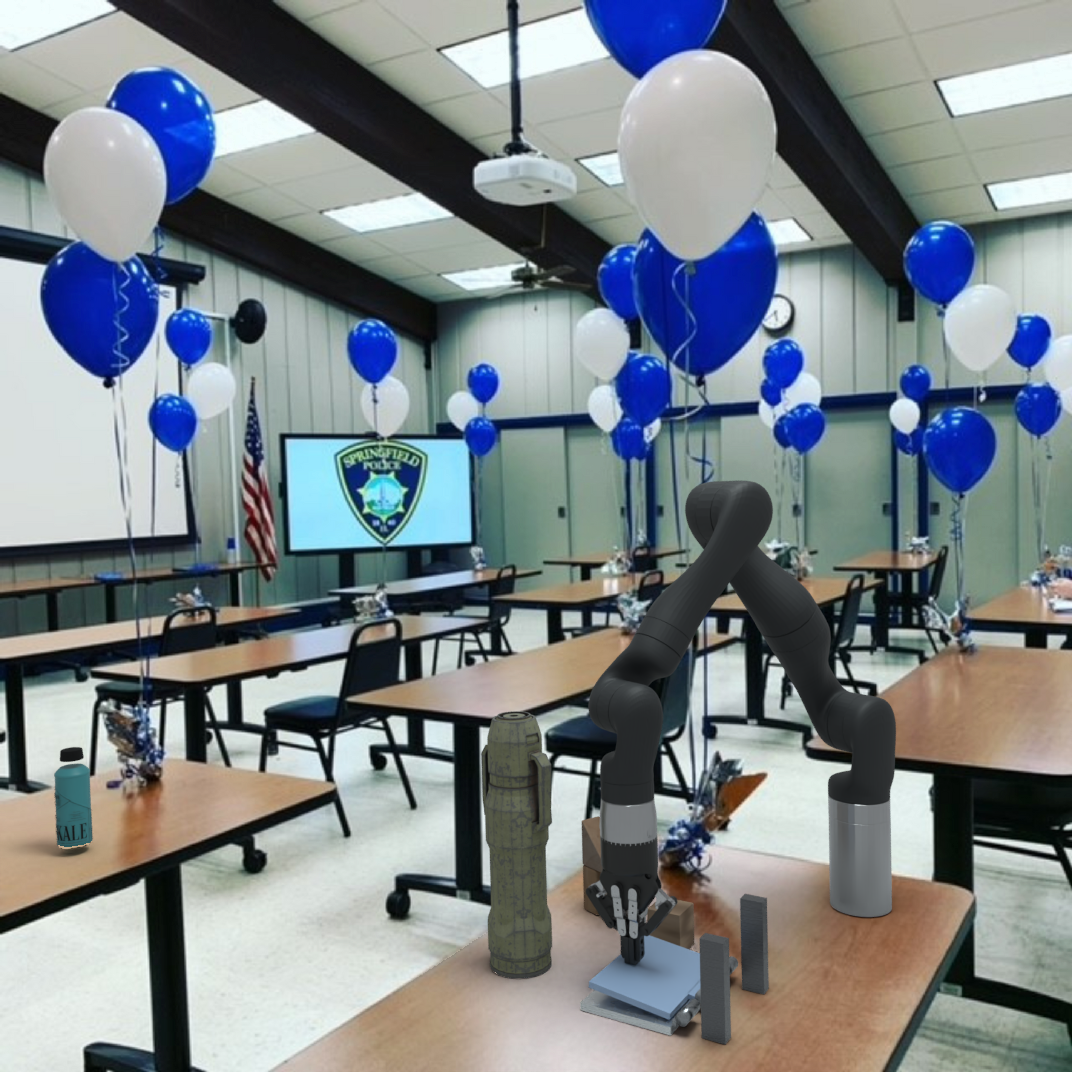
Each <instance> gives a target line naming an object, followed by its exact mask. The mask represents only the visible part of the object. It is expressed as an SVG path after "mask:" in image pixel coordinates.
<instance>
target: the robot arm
mask: <svg viewBox="0 0 1072 1072" xmlns="http://www.w3.org/2000/svg"><path fill="white" fill-rule="evenodd" d="M684 513H685V519H686V522H687V526H688V528H689V531H690V532H691V534H692V536H693V537H694V539H695V540H696V541H697V543H698V544H699V545H700V547H701V548H702V549H703V550H702V552H701V553H700V554H699V556H698V557H697V558H696V559H695V560H694V561H693V562H692V564H691V565H690V566H689V567H688V568H687V569H686V570H685V571H683V572H682V574H681V575H679V576H678V578H676V579H675V580H674V581H673V582H672V583H671V584H669V586H668V587H666V589H664V591H662V592H661V593H660V594H659V596H658V597H656V599H655V600H654V602H653V603H652V605H650V607H649V608H648V610H647V612H646V614H645V615H644V617H643V619H642V621H641V622H640V624H639V627H638V628H637V629H636V632H635V633H634V635H633V637H632V639H631V641H630V642H629V644H628V645H627V646H626V647H625V649H624V650H623V651H621V653H619V655H618V656H617V657H616V658H615V659H614V660H613V661H612V662H611V663H610V665H609V666H608V667H607V668H606V669H605V670H604V671H603V673H602V674H601V675H600V677H598V678H597V680H596V682H595V684H594V685H593V687H592V689H591V691H590V696H589V699H588V715H589V718H590V719H591V721H592V722H593V724H594V725H596V726H597V727H598V728H600V729H601V730H604V731H607V732H610V733H613V734H616V743H615V744H616V745H615V750H613V751H611V752H608V753H605V755H604V756H603V757H602V759H601V761H600V769H599V774H600V776H599V777H600V780H599V781H600V809H599V817H600V824H599V828H600V844H601V865H602V868H603V869H602V872H601V874H600V881H598V882H595V883H594V884H592V885H590V886H589V887H588V888H587V889H586V895H587V896H588V898H589V899H590V901H591V902H592V904H593V905H594V907H595V909H596V910H597V912H598V913H599V915H598V916H600V918H601V919H602V922H603V923H604V925H605V926H606V927H607V929H611V930H612V929H614V930H616V931H617V933H618V935H619V937H620V938H619V941H620V942H619V943H620V954H621V956H622V958H624V962H625V963H627V964H631V965H637V964H638V963H639V962H640V960H641V959H642V958H643V957H644V955H645V950H644V949H645V948H644V936H649V935H650V934H651V933H652V932H653V931H654V930H656V929H657V928H658V926H659V925H660V924H661V923H662V921H663V920H664V919H665V918H666V917H667V915H668V914H669V913H670V912H671V910H672V909H673V908H674V907H675V906H676V904H677V902H678V901H677V900H678V899H677V897H676V896H674V895H671V896H669V895H668V894H667V893H666V892H665V891H664V890H663V889H662V886H663V885H662V884H663V883H662V881H661V879H660V877H659V848H658V847H659V843H658V817H657V809H656V803H655V781H654V780H655V779H654V777H655V776H654V764H655V761H656V758H657V755H658V749H659V745H660V739H661V736H662V735H661V734H662V730H663V723H664V713H663V706H662V702H661V699H660V698H659V695H658V694H657V692H656V691H655V690H654V689H653V688H652V687H650V685H651V684H652V682H654V681H656V680H659V679H663V678H668V677H670V676H671V675H672V674H674V673H675V671H676V670H677V668H678V667H679V665H680V663H681V661H682V659H683V657H684V656H685V654H686V652H687V650H688V648H689V646H690V644H691V642H692V640H693V638H694V636H695V635H696V633H697V631H698V629H699V627H700V626H701V625H702V622H703V621H704V620H705V617H706V616H707V614H708V613H709V611H710V610H711V608H712V607H713V605H714V604H715V602H716V601H717V600H718V599H719V597H720V595H722V593H723V592H724V591H725V589H726V588H727V587H728V585H729V584H730V586H731V587H732V589H733V591H734V592H735V594H736V596H737V597H738V599H739V600H740V602H741V603H742V605H743V607H744V608H745V609H746V611H747V612H748V614H749V616H750V617H751V619H752V620H753V622H754V623H755V626H756V628H757V629H758V631H759V632H760V635H762V637H763V638H764V641H765V642H766V644H767V646H769V649H770V650H771V652H772V653H773V654H774V655H775V657H776V658H777V660H778V662H779V664H780V665H781V666H782V669H783V670H784V672H785V674H786V675H787V677H788V678H789V680H790V682H791V684H792V685H793V687H794V688H795V691H796V693H797V694H798V696H799V698H800V700H801V702H802V704H803V706H804V709H805V711H806V713H807V715H808V717H809V720H810V722H811V724H812V726H813V729H814V730H815V732H816V733H817V736H819V738H820V740H822V742H823V743H824V744H826V745H827V746H829V747H831V748H833V749H836V750H839V751H843V752H846V753H850V754H851V756H852V757H851V767H850V770H844V771H839V772H836V773H833V774H832V775H831V776H829V778H828V780H827V801H828V803H827V804H828V805H827V809H828V813H827V814H828V849H829V850H828V857H829V858H828V859H829V905H830V906H831V907H832V908H833V909H834V910H836V911H838V912H840V913H843V914H844V915H845V914H846V915H849V916H854V917H862V918H873V917H874V918H875V917H882V916H885V915H888V914H889V913H890V912H891V911H892V910H893V899H892V898H893V896H892V895H893V893H892V892H893V891H892V890H893V888H892V885H893V884H892V880H893V878H892V877H893V876H892V874H893V873H892V871H893V869H892V827H891V826H892V820H891V818H892V817H891V816H892V815H891V789H892V785H893V782H894V778H895V771H896V770H895V767H896V766H895V765H896V745H897V744H896V742H897V741H896V740H897V727H896V726H897V723H896V717H895V712H894V710H893V708H892V705H891V704H890V703H889V702H888V701H887V700H886V699H884V698H882V697H878V696H873V695H868V694H862V693H858V692H857V693H856V692H852V691H849V690H847V689H846V688H844V686H842V684H841V683H840V682H839V680H838V679H837V677H836V676H835V674H834V672H833V670H832V669H831V667H830V663H829V657H830V652H831V651H830V650H831V639H832V638H831V637H832V636H831V630H830V626H829V623H828V622H827V619H826V617H825V615H824V614H823V612H822V610H821V609H820V607H819V605H818V603H817V602H816V600H815V599H814V597H813V596H812V594H811V593H810V592H809V590H808V589H807V588H806V587H805V586H804V585H803V584H802V583H801V582H800V580H798V579H797V578H795V577H794V576H793V575H792V574H791V573H789V572H788V571H786V569H784V568H783V567H782V566H780V565H779V564H778V563H777V562H775V561H774V560H773V559H771V557H769V556H768V555H767V554H766V553H765V552H764V551H763V549H761V548H760V546H759V545H760V543H761V542H762V541H763V539H764V537H765V536H766V534H767V532H768V531H769V528H770V526H771V524H772V521H773V514H774V508H773V502H772V498H771V496H770V493H769V492H768V491H767V489H766V488H765V487H764V486H762V484H760V483H757V482H755V481H751V480H721V481H720V480H717V481H714V480H713V481H708V482H703V483H700V484H698V485H696V486H695V487H694V488H692V489H691V491H689V493H688V495H687V497H686V500H685V507H684ZM655 899H656V900H655ZM654 900H655V902H656V903H655V902H654V903H655V908H656V909H657V911H656V912H655V913H654V914H653V916H652V917H651V918H650V919H649V920H648V922H646V921H647V913H648V908H649V907H650V906H651V905H652V903H653V901H654Z"/></svg>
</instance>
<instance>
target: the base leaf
mask: <svg viewBox="0 0 1072 1072" xmlns="http://www.w3.org/2000/svg"><path fill="white" fill-rule="evenodd" d="M739 907H740V908H739V912H740V913H739V915H740V918H739V919H740V955H741V956H740V957H741V958H740V961H741V968H740V969H741V990H744V991H748V992H752V993H756V994H760V995H765V994H766V993H767V992H768V990H769V989H770V987H769V984H770V983H769V981H770V980H769V979H770V977H769V932H768V929H769V928H768V897H765V896H759V895H753V894H749V893H748V894H747V893H744V894H743V895H742V896H741V897H740V898H739ZM698 940H699V942H698V943H699V953H700V988H701V1004H700V1003H699V1001H698V1000H696V999H688V1000H687V1001H686V1002H685V1003H684V1005H683V1006H682V1007H681V1008H680V1009H679V1010H678V1011H677V1012H676V1013H675V1014H674V1015H673V1017H672V1018H671V1019H670V1020H668V1019H666V1018H663V1017H661V1016H658V1015H656V1014H653V1013H651V1012H648V1011H646V1010H643V1009H641V1008H638V1007H636V1006H633V1005H631V1004H628V1003H626V1002H623V1001H621V1000H618V999H616V998H613V997H611V996H609V995H606V994H604V993H601V992H599V991H596V990H594V989H593V991H591V992H590V993H589V994H588V995H587V996H586V997H584V999H582V1000H581V1001H580V1002H579V1005H580V1007H579V1008H580V1009H579V1010H580V1011H582V1012H586V1013H590V1014H593V1015H597V1016H600V1017H603V1018H607V1019H611V1020H614V1021H617V1022H620V1023H624V1024H627V1025H628V1024H629V1025H631V1026H635V1027H639V1028H642V1029H646V1030H650V1031H653V1032H656V1033H661V1034H664V1035H666V1036H670V1037H671V1036H672V1035H673V1033H675V1032H676V1030H677V1029H679V1027H686V1026H687V1025H688V1024H689V1023H690V1022H691V1020H693V1018H694V1017H695V1016H696V1015H697V1014H698V1013H699V1011H700V1027H701V1028H700V1029H701V1032H700V1033H701V1038H702V1039H704V1040H708V1041H710V1042H713V1043H717V1044H718V1043H719V1044H722V1045H727V1043H728V1042H729V1041H730V1039H731V1038H732V1023H731V1022H732V1021H731V1020H732V1019H731V1017H732V1016H731V974H732V973H734V972H735V970H736V969H737V968H738V967H739V961H738V959H737V958H736V957H735V956H733V955H731V956H730V937H727V936H721V935H717V934H713V933H708V932H704V933H703V935H701V937H699V939H698Z"/></svg>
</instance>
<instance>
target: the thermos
mask: <svg viewBox="0 0 1072 1072" xmlns="http://www.w3.org/2000/svg"><path fill="white" fill-rule="evenodd" d="M486 742H487V743H486V744H484V747H483V749H482V750H481V753H480V755H481V758H480V759H481V760H480V761H481V788H482V790H481V791H482V792H481V793H482V794H481V795H482V805H483V812H484V813H483V814H484V822H485V829H484V830H485V842H486V844H487V847H488V848H489V872H490V873H489V876H490V878H489V880H490V883H489V884H490V909H489V913H488V916H487V943H488V949H487V950H489V954H490V958H489V959H490V960H489V968H490V967H491V968H490V970H491V969H492V970H493V971H494V972H496V973H497V974H498V976H500V975H502V976H501V977H503V976H505V977H504V978H506V977H509V978H508V979H513V978H526V979H530V978H535V977H539V976H541V975H544V974H545V973H546V972H548V971H549V970H550V968H551V967H552V952H551V950H552V949H553V936H552V935H553V931H552V930H553V927H552V926H553V925H552V920H553V919H552V913H551V911H550V909H549V906H548V886H547V883H548V882H547V854H546V853H547V852H546V851H547V850H546V847H547V844H548V841H549V839H550V837H549V835H550V830H549V827H550V826H551V825H552V824H553V818H552V816H553V814H552V763H551V761H550V759H549V757H548V755H547V753H545V752H543V739H542V730H541V728H540V725H539V723H538V720H537V717H536V715H534V714H531V713H530V712H526V711H519V710H513V711H504V712H501V713H498V714H497V715H496V716H494V717H492V718H491V723H490V726H489V730H488V734H487V739H486ZM492 970H491V971H492ZM493 971H492V972H493ZM494 972H493V973H494ZM496 973H495V974H496ZM497 974H496V975H497Z"/></svg>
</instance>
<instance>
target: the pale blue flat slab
mask: <svg viewBox="0 0 1072 1072" xmlns="http://www.w3.org/2000/svg"><path fill="white" fill-rule="evenodd" d="M644 948H645V949H644V950H645V955H644V957H643V958H642V959H641V960H640V962H639V963H638V964H637V965H631V964H627V963H625V962H624V958H622V956H621V953H619V955H618V956H616V957H615V958H614V959H613V960H611V962H609V964H607V965H606V966H605V967H604V968H603V969H602V970H600V971H599V972H598V973H597V974H596V975H595V976H594V977H592V978H591V979H589V981H588V988H589V989H591V990H593V991H594V990H596V991H599V992H601V993H604V994H606V995H609V996H611V997H613V998H616V999H618V1000H621V1001H623V1002H626V1003H628V1004H631V1005H633V1006H636V1007H638V1008H641V1009H643V1010H646V1011H648V1012H651V1013H653V1014H656V1015H658V1016H661V1017H663V1018H666V1019H668V1020H670V1019H671V1018H672V1017H673V1015H674V1014H675V1013H676V1012H677V1011H678V1010H679V1009H680V1008H681V1007H682V1006H683V1005H684V1003H685V1002H686V1001H687V1000H688V999H696V1000H698V1001H699V1003H700V1005H701V988H700V952H697V951H696V950H695V951H694V950H691V949H686V948H683V947H681V946H678V945H675V944H672V943H669V942H667V941H664V940H661V939H658V938H655V937H653V936H650V935H649V936H644Z"/></svg>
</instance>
